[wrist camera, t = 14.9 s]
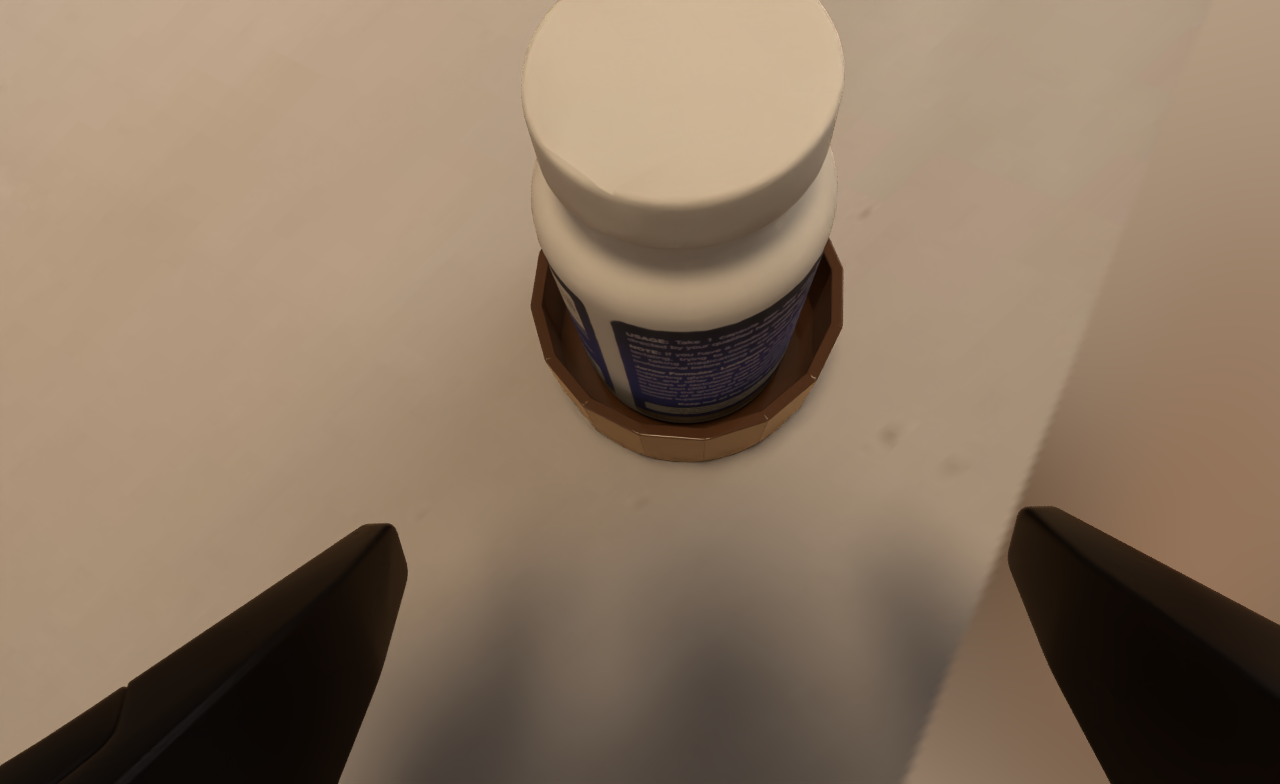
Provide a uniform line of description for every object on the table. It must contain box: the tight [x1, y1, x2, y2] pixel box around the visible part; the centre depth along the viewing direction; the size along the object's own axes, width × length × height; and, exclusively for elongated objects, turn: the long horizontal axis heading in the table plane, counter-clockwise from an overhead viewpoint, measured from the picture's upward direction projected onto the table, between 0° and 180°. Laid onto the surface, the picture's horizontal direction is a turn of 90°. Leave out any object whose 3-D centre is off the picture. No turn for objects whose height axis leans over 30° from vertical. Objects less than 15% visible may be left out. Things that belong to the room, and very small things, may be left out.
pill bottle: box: [521, 0, 844, 423], centre depth 14 cm, size 6×6×10 cm
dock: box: [531, 238, 843, 462], centre depth 18 cm, size 8×8×3 cm
